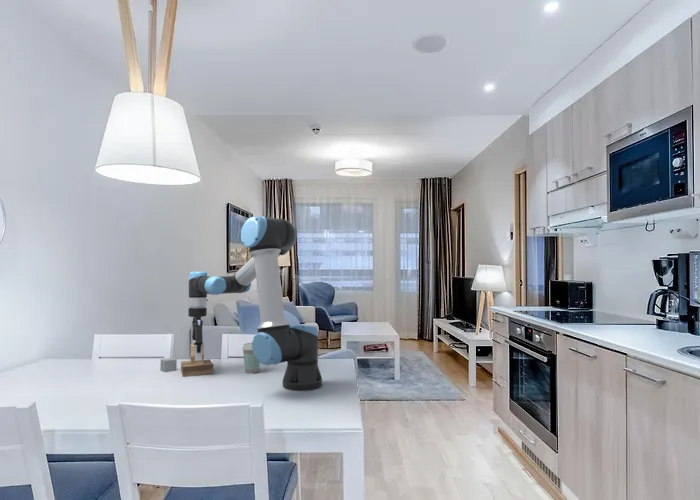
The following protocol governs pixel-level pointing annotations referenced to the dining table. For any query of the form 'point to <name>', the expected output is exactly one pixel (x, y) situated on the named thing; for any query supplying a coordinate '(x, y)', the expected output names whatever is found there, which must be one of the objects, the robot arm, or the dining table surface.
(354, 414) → the dining table surface
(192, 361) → the oak column block
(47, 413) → the dining table surface
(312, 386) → the robot arm
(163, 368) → the slate grey block
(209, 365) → the walnut base slab
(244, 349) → the coffee cup
